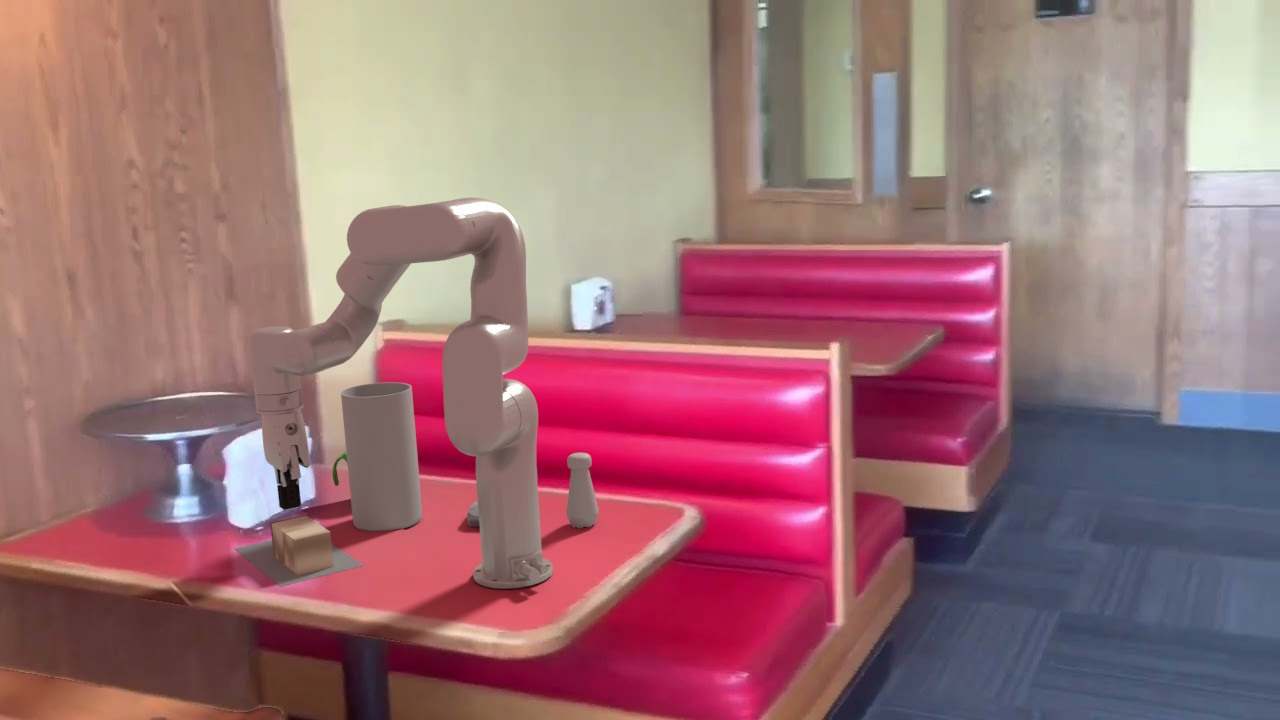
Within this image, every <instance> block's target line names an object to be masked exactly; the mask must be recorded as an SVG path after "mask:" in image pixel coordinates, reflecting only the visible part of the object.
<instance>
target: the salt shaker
mask: <svg viewBox="0 0 1280 720" xmlns="http://www.w3.org/2000/svg"><path fill="white" fill-rule="evenodd" d="M566 460H567V467H568V469H570V477H569V486H568V487H569V488H568V494H567V495H568V496H567V503H566V509H565V512H566V517H567V520H568V521H569V523H570V525H571V527H572V528H575V527H577V529H584V528H583V527H589V528H591V527H593V526H594V525H593V524H596V522H597V519H598V516H599V514H600V513H599V512H600V509H599V506H598V502H597V497H596V492H595V489H594V486H593V481H592V478H591V473H590V470H589V468H591V467H592V462H593V460H592V457H591V455H590V454H589V453H587V452H574V453H571V454H570V455H569V456H567V459H566ZM592 525H593V526H592ZM573 526H574V527H573ZM590 526H591V527H590Z"/></svg>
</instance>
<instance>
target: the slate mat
mask: <svg viewBox="0 0 1280 720" xmlns="http://www.w3.org/2000/svg"><path fill="white" fill-rule="evenodd" d="M234 550H235V551H236V552H238V553H239V554H240V555H241V556H243V557H244V558H245V560H247V561H248V562H249V563H251V564H252V565H254V566H255V567H256V568H257V569H258V570H260V572H262V574H264V575H266V576H267V577H268V578H269V579H270V580H272V581H273V582H274V583H275V584H276V585H278V587H284V586H289V585H293V584H296V583H297V584H298V583H300V582H305V581H309V580H312V579H316V578H320V577H324V576H329V575H333V574H336V573H341V572H344V571H348V570H352V569H356V568H357V569H358V568H361V567H364V565H363V564H362V563H360V562H359V561H358V560H356V559H354V558H353V557H351V556H350V555H349V554H347V553H346V552H344V551H343V550H341V549H340V548H339V547H338V546H335V545H334V544H332V554H333V564H334V567H330V568H326V569H322V570H318V571H314V572H310V573H306V574H301V575H297V574H296V573H295V572H293V571H292V570H291V569H290V568H288V567H287V566H286V565H284V564H283V563H282V562H281V561H279V560H278V559H277V558H275V557H274V552H273V543H272V539H270V540H266V541H261V542H256V543H252V544H249V545H248V544H247V545H244V546H239V547H235V548H234Z"/></svg>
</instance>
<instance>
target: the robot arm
mask: <svg viewBox="0 0 1280 720" xmlns="http://www.w3.org/2000/svg"><path fill="white" fill-rule="evenodd" d="M346 243H347V247H348V250H349V252H350V253H349V255H348V256H346V257H345V260H344V261H343V263H342V264H341V265H340V266H339V268H338V269H337V271H336V273H335V274H336V275H335V279H336V280H335V281H336V283H337V285H338V286H339V288H340V289H341V291H342V292H343V293H344V295H343V297H342V299H341V301H340V302H339V304H338V305H337V306H336V308H335V309H334V310H333V311H332V313H331V315H330V316H329V317H328V318H327V319H326V320H325V321H324V322H321V323H317V324H313V325H310V326H306V327H305V328H304V327H303V328H301V329H297V330H296V329H295V330H294V329H293V328H291V327H289V326H284V325H282V326H281V325H277V326H276V325H275V326H266V327H260V328H257V329H255V330H252V331H251V332H250V334H249V337H248V347H249V355H250V363H251V365H250V366H251V371H252V381H253V391H254V399H255V400H254V401H255V409H256V413H257V414H258V415H261V433H262V445H263V453H264V458H265V461H266V462H267V463H268V464H269V465H270V466H272V467H273V469H274V475H275V480H276V484H277V488H276V489H277V495H278V506H279V508H281V509H282V510H283V511H286V510H291V509H296V508H299V507H301V506H302V500H301V492H300V491H301V490H300V479H301V478H302V474H301V468H300V466H301V467H303V468H305V469H308V468H309V467H311V458H310V457H311V456H310V450H309V444H308V443H309V442H308V437H307V431H306V425H305V421H304V416H303V413H302V409H304V401H303V392H302V391H303V389H302V382H301V377H309V376H312V375H315V374H319V373H320V372H323V371H326V370H330V369H331V368H334V367H337V366H339V365H342V364H345V363H346V362H348V361H349V360H350V359H351V358H352V357H354V355H356V353H357V352H358V351H359V350H360V348H361V347H362V346H363V344H364V343H365V342H366V341H367V339H368V338H369V337H370V335H371V334H372V333H373V331H374V330H375V327H377V324H378V321H379V318H380V315H381V311H382V307H383V305H382V304H383V302H384V300H385V299H386V298H387V296H388V295H389V293H390V292H391V291H392V289H393V288H394V287H395V286H396V284H397V283H398V281H399V280H401V277H402V276H404V273H405V272H406V271H407V269H409V267H410V266H411V265H412V264H418V263H419V264H420V263H430V262H431V263H433V262H442V261H449V260H453V259H456V258H460V257H465V256H468V255H472V256H473V257H474V266H473V269H472V274H471V277H470V300H471V301H470V303H471V304H470V305H471V306H470V319H469V320H467V321H464V322H462V323H460V324H459V325H457V326H455V328H453V330H452V331H451V332H450V334H449V335H448V337H447V339H446V341H445V343H444V347H443V351H442V361H441V363H442V364H441V365H442V366H441V367H442V385H443V386H442V390H443V391H442V393H443V411H444V412H443V413H444V416H443V417H444V423H445V429H446V433H447V435H448V437H449V440H450V442H451V443H452V445H453V446H454V447H455V448H456V449H457V450H458V451H459V452H460V453H463V454H464V455H467V456H471V457H475V479H476V495H477V500H478V511H479V525H480V527H479V535H480V551H481V552H480V553H481V563H480V564H478V565H477V566H476V567H475V568H474V569H473V571H472V574H473V580H474V582H476V583H477V584H479V585H481V586H483V587H486V588H491V589H500V590H501V589H502V590H507V589H508V590H509V589H511V590H512V589H520V588H525V587H530V586H534V585H536V584H541V583H542V582H544V581H546V580H547V579H549V578H550V577H551V576H552V574H553V573H554V571H553V570H554V567H553V563H552V562H551V561H550V560H549V559H547V558H545V557H543V551H542V550H543V548H542V533H541V519H540V504H539V503H540V501H539V500H540V499H539V489H538V469H537V468H538V467H537V464H538V463H537V442H538V441H537V439H538V438H537V437H538V427H539V409H538V403H537V400H536V397H535V396H534V394H533V392H532V390H531V389H530V388H529V387H528V386H527V385H526V384H524V383H522V382H521V381H519V380H517V379H512V378H504V375H505V374H508V373H510V372H512V371H514V370H515V369H517V368H519V367H520V366H521V365H522V364H523V363H524V362H525V360H526V358H527V357H528V352H529V324H528V298H527V297H528V296H527V295H528V294H527V251H526V249H527V248H526V242H525V238H524V235H523V231H522V229H521V227H520V225H519V223H518V221H517V220H516V218H515V217H514V216H513V215H512V214H511V213H510V212H509V210H507V208H505V207H503V206H502V205H500V204H498V203H496V202H494V201H492V200H489V199H487V198H483V197H463V198H456V199H452V200H445V201H439V202H433V203H432V202H431V203H425V204H417V205H410V206H407V205H403V204H401V205H400V204H396V205H395V204H393V205H387V206H380V207H372V208H369V209H365V210H363V211H361V212H360V213H358V214H357V215H356V216H355V217H353V219H352V221H351V222H350V224H349V226H348V229H347V233H346Z"/></svg>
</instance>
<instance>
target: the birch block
mask: <svg viewBox="0 0 1280 720" xmlns="http://www.w3.org/2000/svg"><path fill="white" fill-rule="evenodd" d="M269 524H270V532H271V540H272V543H273V552H274V557H275V558H277V559H278V560H279V561H281V562H282V563H283V564H284V565H286V566H287V567H288V568H290V569H291V570H292V571H293V572H295V573H296V574H297V575H301V574H306V573H310V572H314V571H318V570H322V569H326V568H330V567H334V564H333V554H332V545H333V544H332V535H331V531H330V530H328V529H327V528H326V527H324V526H322V525H321V524H319V523H318V522H316V521H314V520H313V519H311V517H308V516H307V515H305V514H303V515H299V516H294V517H290V518H286V519H280V520H276V521H272V522H270V523H269Z"/></svg>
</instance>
